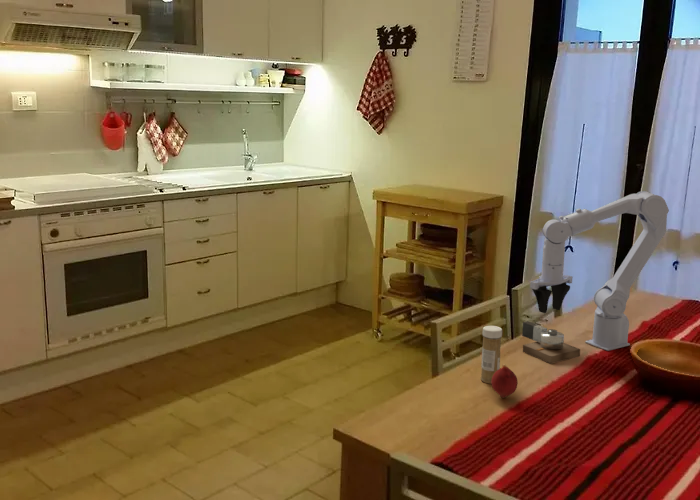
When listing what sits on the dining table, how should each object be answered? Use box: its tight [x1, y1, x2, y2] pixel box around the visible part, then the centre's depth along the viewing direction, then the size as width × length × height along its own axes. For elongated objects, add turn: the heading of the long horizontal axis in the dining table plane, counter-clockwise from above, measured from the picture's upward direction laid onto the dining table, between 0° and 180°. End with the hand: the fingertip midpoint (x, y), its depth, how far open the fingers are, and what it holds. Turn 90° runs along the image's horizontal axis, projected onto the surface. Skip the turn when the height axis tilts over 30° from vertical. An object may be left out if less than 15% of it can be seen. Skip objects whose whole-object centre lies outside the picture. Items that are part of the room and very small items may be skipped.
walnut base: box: [522, 341, 581, 365], centre depth 187 cm, size 11×10×2 cm
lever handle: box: [521, 320, 565, 349], centre depth 189 cm, size 13×6×4 cm, turn 31°
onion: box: [490, 363, 518, 399], centre depth 158 cm, size 6×6×8 cm
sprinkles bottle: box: [480, 325, 503, 385], centre depth 167 cm, size 5×5×13 cm
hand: (549, 310), depth 194 cm, fingers open, 5 cm apart
